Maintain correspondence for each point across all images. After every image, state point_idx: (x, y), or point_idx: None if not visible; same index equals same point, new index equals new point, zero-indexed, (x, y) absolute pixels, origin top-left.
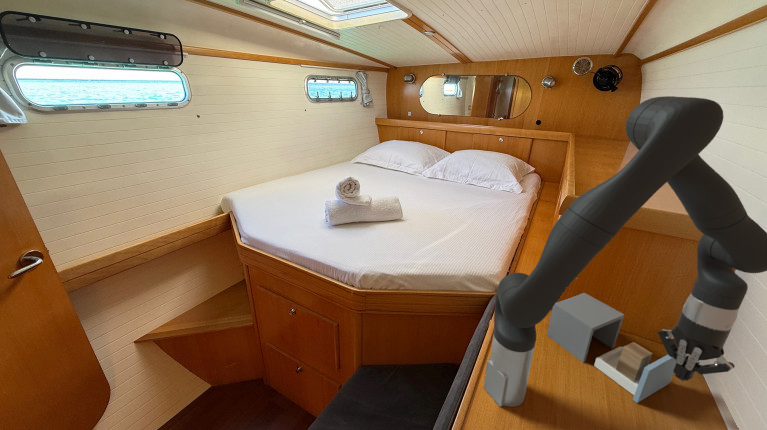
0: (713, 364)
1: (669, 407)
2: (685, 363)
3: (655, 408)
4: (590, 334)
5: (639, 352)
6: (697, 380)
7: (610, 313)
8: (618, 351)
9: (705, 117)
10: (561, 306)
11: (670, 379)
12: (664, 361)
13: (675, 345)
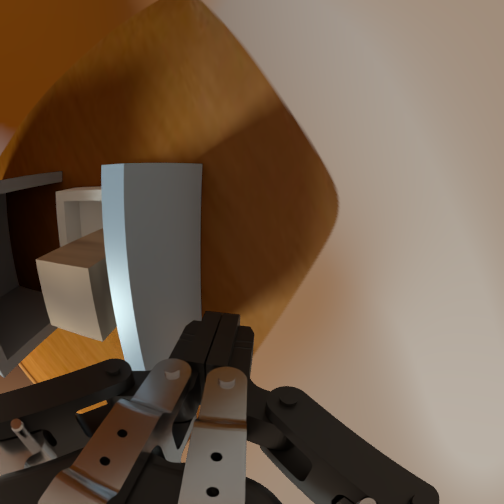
0: (322, 476)
1: (249, 272)
2: (197, 395)
3: (232, 309)
4: (18, 363)
5: (76, 310)
6: (243, 60)
7: None
8: (65, 224)
9: None
10: None
11: (196, 170)
12: (139, 351)
13: (81, 407)
